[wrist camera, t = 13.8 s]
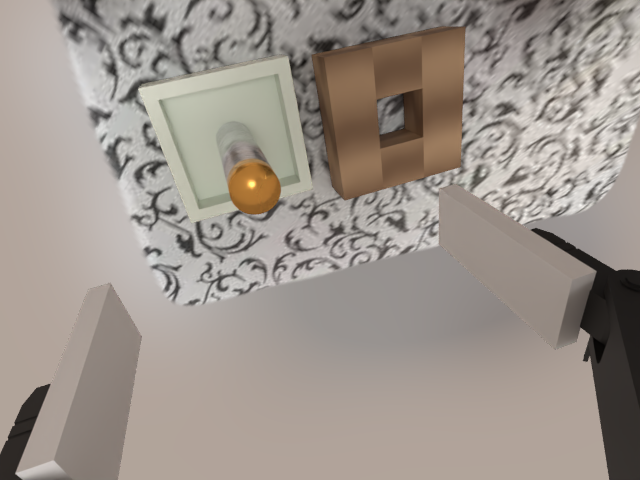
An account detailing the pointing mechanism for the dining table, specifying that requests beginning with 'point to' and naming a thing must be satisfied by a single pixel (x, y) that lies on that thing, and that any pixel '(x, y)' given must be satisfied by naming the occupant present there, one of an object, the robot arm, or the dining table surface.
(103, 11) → the dining table surface
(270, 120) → the tray
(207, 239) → the dining table surface
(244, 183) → the clear capped vial
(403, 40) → the block
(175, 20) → the dining table surface
